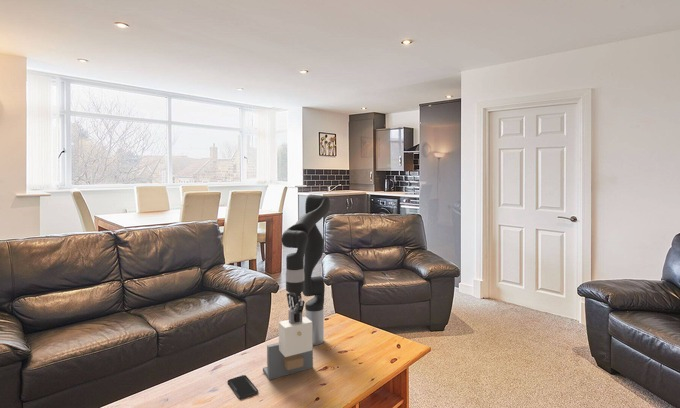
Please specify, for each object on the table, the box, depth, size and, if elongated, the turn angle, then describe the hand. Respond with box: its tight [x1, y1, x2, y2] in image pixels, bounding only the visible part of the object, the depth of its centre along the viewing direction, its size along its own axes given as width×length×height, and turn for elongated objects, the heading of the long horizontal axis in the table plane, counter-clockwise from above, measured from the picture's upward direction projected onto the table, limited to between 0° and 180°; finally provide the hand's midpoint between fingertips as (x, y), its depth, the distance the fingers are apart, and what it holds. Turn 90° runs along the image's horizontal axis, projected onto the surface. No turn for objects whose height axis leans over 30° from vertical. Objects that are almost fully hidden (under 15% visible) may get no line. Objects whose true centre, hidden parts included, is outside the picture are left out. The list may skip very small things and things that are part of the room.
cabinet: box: [278, 309, 312, 357], centre depth 153 cm, size 8×12×17 cm, turn 120°
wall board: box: [262, 337, 314, 381], centre depth 159 cm, size 12×20×14 cm, turn 120°
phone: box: [227, 374, 259, 400], centre depth 148 cm, size 8×1×15 cm
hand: (295, 320), depth 153 cm, fingers closed on cabinet, 2 cm apart
